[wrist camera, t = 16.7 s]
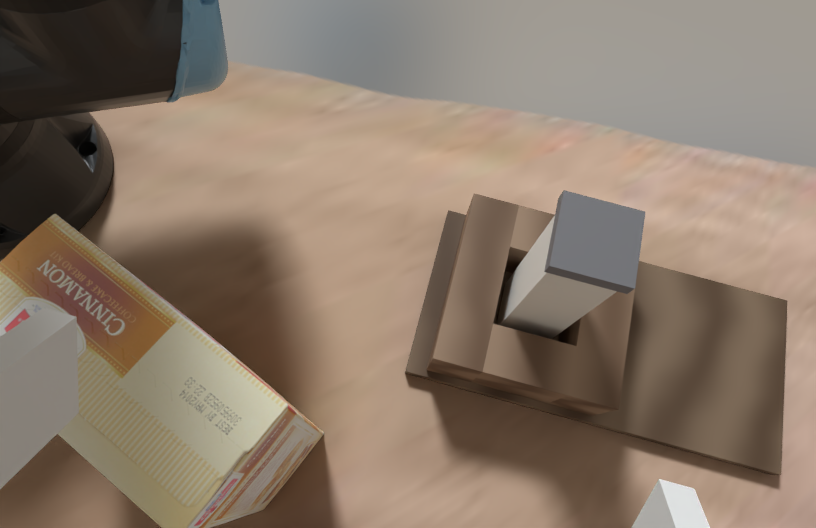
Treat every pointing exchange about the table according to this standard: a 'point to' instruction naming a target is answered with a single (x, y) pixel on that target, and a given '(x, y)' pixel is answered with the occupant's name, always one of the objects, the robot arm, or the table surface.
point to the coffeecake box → (156, 388)
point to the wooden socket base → (609, 346)
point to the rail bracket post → (573, 265)
